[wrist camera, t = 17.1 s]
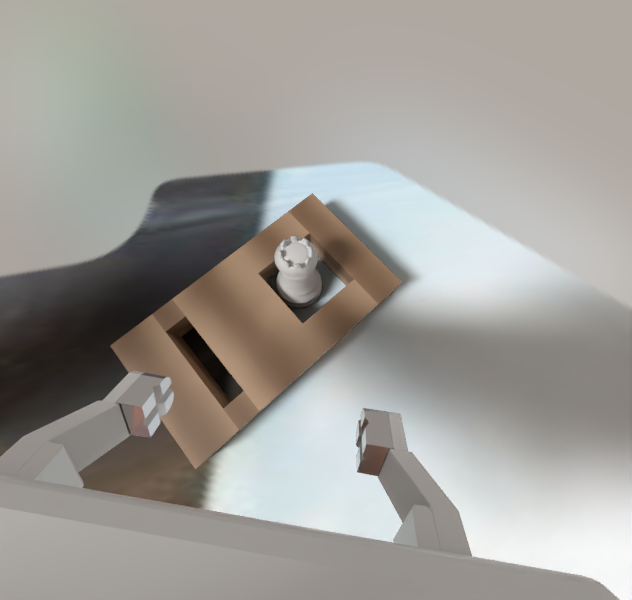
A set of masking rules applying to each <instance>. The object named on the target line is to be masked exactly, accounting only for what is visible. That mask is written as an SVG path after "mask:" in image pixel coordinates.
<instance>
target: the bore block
mask: <svg viewBox="0 0 632 600" xmlns="http://www.w3.org/2000/svg"><path fill="white" fill-rule="evenodd" d="M295 235H297V237H300V238H303V237H305V238H306V239H307V240H309V241H310V242H311V243H312V244H313V245H314V246H315V248H316V249H317V253H318V257H319V258H320V259H321V260H322V261H323V262H324V263H325V264H326V265H327V266H328V267H329V268H330V269H331V270H332V271H333V272H334V273H335V274H336V276H337V277H338V278H339V279H340V280H341V281H342V282H343V283H344V284H345V285H346V287H345V288H343V289H342V290H341V291H340V292H339V293H338V294H336V295H335V296H334V297H333V298H332V299H331V300H330V301H328V302H327V303H326V304H325V305H324V306H323V307H321V308H320V309H319V310H318V311H317V312H316V313H314V314H313V315H312V316H311V317H310V318H309V319H307V320H306V321H305V322H304V323H302V322H301V321H300V320H299V319H298V318H297V317H296V315H295V314H294V313H293V312H292V311H291V310H290V309H289V308H288V306H287V305H286V304H285V303H284V302H283V301H282V300H281V298H280V297H279V296H278V295H277V294H276V293H275V292H274V291H273V289H272V288H271V287H270V286H269V285H268V284H267V283H266V282H267V281H268V280H270V279H271V278H272V277H273V276H275V275H276V274H277V273H278V272H279V269H278V268H277V266H276V264H275V258H274V255H275V252H276V249H277V247H278V246H279V245H280V243H281V242H282V241H283V240H284V239H285V240H287V239H289V238H290V236H295ZM401 283H402V281H401V280H400V279H399V278H398V277H397V276H396V275H395V274H394V273H393V272H392V271H391V270H389V269H388V268H387V267H386V266H385V265H384V264H383V263H382V262H381V261H380V260H379V259H378V258H377V257H376V256H375V255H374V254H373V253H372V252H371V251H370V250H369V249H368V248H367V247H366V246H365V245H364V244H363V243H362V242H361V241H360V240H359V239H358V238H357V237H356V236H355V235H354V234H353V233H352V232H351V231H350V230H349V229H348V228H347V227H346V226H345V225H344V224H343V223H342V222H341V221H340V220H339V219H338V218H337V217H336V216H335V215H334V214H333V213H332V212H331V211H330V210H329V209H328V208H327V207H326V206H325V205H324V204H323V203H322V202H321V201H320V200H319V199H318V198H317V197H316V196H315V195H314V194H313V193H312V194H311V195H310V196H308V197H307V198H306V199H304V200H303V201H302V202H300V203H299V204H298V205H296V206H295V207H294V208H292V209H291V210H290V211H288V212H287V213H286V214H284V215H283V216H282V217H280V218H279V219H278V220H276V221H275V222H274V223H272V224H271V225H270V226H268V227H267V228H266V229H264V230H263V231H262V232H260V233H259V234H258V235H256V236H255V237H254V238H252V239H251V240H250V241H249V242H247V243H246V244H245V245H243V246H242V247H241V248H239V249H238V250H237V251H235V252H234V253H233V254H231V255H230V256H229V257H227V258H226V259H225V260H223V261H222V262H221V263H219V264H218V265H217V266H215V267H214V268H213V269H211V270H210V271H209V272H207V273H206V274H205V275H203V276H202V277H201V278H199V279H198V280H197V281H195V282H194V283H193V284H191V285H190V286H189V287H187V288H186V289H185V290H183V291H182V292H181V293H179V294H178V295H177V296H175V297H174V298H173V299H172V300H170V301H169V302H168V303H166V304H165V305H164V306H162V307H161V308H160V309H158V310H157V311H156V312H154V313H153V314H152V315H150V316H149V317H148V318H146V319H145V320H144V321H142V322H141V323H140V324H138V325H137V326H136V327H134V328H133V329H132V330H130V331H129V332H128V333H126V334H125V335H124V336H122V337H121V338H120V339H118V340H117V341H116V342H114V343H113V344H112V345H110V346H111V348H112V349H113V351H114V352H115V354H116V355H117V356H118V358H119V359H120V361H121V362H122V364H123V365H124V367H125V368H126V369H127V371H128V372H129V373H130V372H132V371H138V372H144V373H150V374H155V375H160V376H166V377H170V379H171V385H170V386H169V387H170V388H171V389H172V390H173V393H174V398H173V403H172V405H171V408H170V409H169V411H168V412H167V414H165V415H163V416H162V417H160V419H161V420H162V421H163V423H164V424H165V426H166V427H167V429H168V430H169V432H170V433H171V434H172V436H173V437H174V439H175V440H176V442H177V443H178V445H179V446H180V447H181V449H182V450H183V452H184V453H185V455H186V456H187V458H188V459H189V460H190V462H191V463H192V465H193V466H194V468H195V469H196V468H197V467H199V466H200V465H201V464H202V463H204V462H205V461H206V460H207V459H209V458H210V457H211V456H212V455H213V454H214V453H216V452H217V451H218V450H219V449H220V448H221V447H222V446H223V445H224V444H225V443H227V442H228V441H229V440H230V439H231V438H232V437H233V436H234V435H235V434H237V433H238V432H239V431H240V430H241V429H242V428H243V427H244V426H245V425H246V424H248V423H249V422H250V421H251V420H252V419H253V418H254V417H255V416H256V415H258V414H259V413H260V412H261V411H262V410H263V409H264V408H265V407H266V406H268V405H269V404H270V403H271V402H272V401H273V400H274V399H275V398H276V397H277V396H279V395H280V394H281V393H282V392H283V391H284V390H285V389H286V388H287V387H289V386H290V385H291V384H292V383H293V382H294V381H295V380H296V379H297V378H298V377H300V376H301V375H302V374H303V373H304V372H305V371H306V370H307V369H308V368H310V367H311V366H312V365H313V364H314V363H315V362H316V361H317V360H318V359H320V358H321V357H322V356H323V355H324V354H325V353H326V352H327V351H328V350H329V349H331V348H332V347H333V346H334V345H335V344H336V343H337V342H338V341H339V340H341V339H342V338H343V337H344V336H345V335H346V334H347V333H348V332H349V331H350V330H352V329H353V328H354V327H355V326H356V325H357V324H358V323H359V322H360V321H362V320H363V319H364V318H365V317H366V316H367V315H368V314H369V313H370V312H372V311H373V310H374V309H375V308H376V307H377V306H378V305H379V304H380V303H381V302H383V301H384V300H385V299H386V298H387V297H388V296H389V295H390V294H391V293H393V292H394V290H395V289H396V288H397V287H398V286H399V285H400V284H401ZM193 327H194V328H195V329H196V330H197V332H198V333H199V334H200V335H201V337H202V338H203V339H204V341H205V342H206V343H207V344H208V346H209V347H210V348H211V350H212V351H213V352H214V353H215V355H216V356H217V357H218V359H219V360H220V361H221V362H222V364H223V365H224V366H225V368H226V369H227V370H228V371H229V373H230V374H231V375H232V376H233V378H234V379H235V380H236V382H237V383H238V384H239V385H240V387H241V388H242V389H243V392H242V393H241V394H239V395H238V396H237V397H236V398H235V399H234V400H233V401H230V400H229V398H228V397H227V396H226V394H225V393H224V392H223V390H222V389H221V388H220V387H219V385H218V384H217V383H216V381H215V380H214V379H213V377H212V376H211V375H210V373H209V372H208V371H207V369H206V368H205V367H204V366H203V364H202V363H201V362H200V360H199V359H198V358H197V356H196V355H195V354H194V352H193V351H192V350H191V348H190V347H189V346H188V345H187V343H186V342H185V341H184V339H183V338H182V336H183V335H185V334H186V333H187V332H188V331H190V330H191V329H192V328H193Z"/></svg>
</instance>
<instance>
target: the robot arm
mask: <svg viewBox="0 0 632 600" xmlns="http://www.w3.org/2000/svg"><path fill="white" fill-rule="evenodd" d="M170 385H171V379H170V377H166V376H160V375H155V374H150V373H144V372H138V371H132V372H130V373H128V374H127V376H126V377H125V378H124V379H123V380H122V381H121V382H120V383H119V384H118V385H117V386H116V387H115V388H114V389H113V390H112V391H111V392H110V393H109V394H108V395H107V396H106V397H105V398H104V400H103V401H96V402H94V403H92V404H90V405H88V406H86V407H84V408H82V409H80V410H78V411H75V412H73V413H71V414H69V415H67V416H65V417H63V418H61V419H59V420H57V421H54V422H52V423H50V424H48V425H46V426H44V427H42V428H40V429H38V430H36V431H33V432H31V433H29V434H27V435H25V436H23V437H22V438H21V439H20V440H19V441H18V442H16V443H15V444H14V445H13V446H12V447H11V448H10V449H9V450H8V451H6V452H5V453H4V454H3V455H2V456H1V457H0V600H619V599H618V598H617V597H616V596H615V595H614V594H613V593H612V592H611V591H610V590H608V589H607V588H606V587H605V586H604V585H603V584H601V583H600V582H598V581H596V580H594V579H592V578H588V577H585V576H581V575H576V574H570V573H564V572H558V571H552V570H547V569H541V568H535V567H530V566H524V565H518V564H513V563H507V562H501V561H495V560H490V559H484V558H478V557H473V556H472V555H471V551H470V548H469V545H468V541H467V538H466V535H465V531H464V528H463V525H462V521H461V518H460V514H459V511H458V510H457V509H456V507H455V506H454V505H453V503H452V502H451V501H450V500H449V498H448V497H447V496H446V495H445V493H444V492H443V491H442V490H441V488H440V487H439V486H438V485H437V483H436V482H435V481H434V480H433V478H432V477H431V476H430V475H429V473H428V472H427V471H426V469H425V468H424V467H423V466H422V464H421V463H420V462H419V461H418V459H417V458H416V457H415V456H414V454H413V453H412V452H408V448H407V443H406V438H405V433H404V428H403V423H402V418H401V415H400V414H398V413H392V412H386V411H380V410H373V409H367V408H363V409H362V411H361V420H359V421H358V425H357V431H356V445H357V447H358V448H359V449H358V452H357V455H356V459H357V472H359V473H364V474H369V475H374V476H379V477H378V478H379V480H380V482H381V484H382V485H383V487H384V489H385V491H386V493H387V495H388V496H389V498H390V500H391V502H392V504H393V506H394V507H395V509H396V511H397V513H398V515H399V517H400V518H401V520H402V522H403V524H402V526H401V527H400V529H399V531H398V533H397V534H396V536H395V538H394V539H393V541H394V543H392V542H387V541H381V540H375V539H369V538H364V537H358V536H352V535H347V534H341V533H335V532H330V531H324V530H318V529H313V528H307V527H301V526H296V525H290V524H284V523H278V522H273V521H267V520H261V519H256V518H250V517H244V516H239V515H233V514H227V513H222V512H216V511H210V510H204V509H199V508H193V507H187V506H182V505H176V504H170V503H165V502H159V501H153V500H147V499H142V498H136V497H130V496H124V495H119V494H113V493H107V492H102V491H96V490H90V489H84V488H82V487H83V480H82V479H81V477H80V475H79V473H78V472H79V471H81V470H82V469H83V468H85V467H86V466H88V465H89V464H91V463H92V462H93V461H95V460H96V459H98V458H99V457H100V456H102V455H103V454H105V453H106V452H108V451H109V450H110V449H112V448H113V447H115V446H116V445H117V444H119V443H120V442H122V441H123V440H124V439H126V438H127V437H129V436H130V435H137V436H144V437H151V436H152V435H153V433H154V432H155V430H156V429H157V427H158V426H159V424H160V417H162V416H163V415H165V414H167V412H168V411H169V409H170V408H171V405H172V403H173V398H174V393H173V390H172V389H171V388H170V387H169V386H170ZM129 434H130V435H129Z"/></svg>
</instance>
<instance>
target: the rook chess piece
mask: <svg viewBox="0 0 632 600" xmlns="http://www.w3.org/2000/svg"><path fill="white" fill-rule="evenodd" d="M274 258H275V264H276V266H277V268H278V269H279V273H278V276H277V279H276V287H277V293H278V295H279V297H280V298H281V300H282V301H283V302H285V303H286V304H287V305H289V306H292V307H296V308H300V307H307V306H309V305H310V304H312V303H314V302H315V301H316V300H317V298H318V297H319V296H320V294H321V290H322V281H321V275H320V274H319V272H318V271H317V269H316V268H315V267H316V265H317V261H318V253H317V249H316V248H315V246H314V245H313V244H312V243H311V242H310V241H309V240H307V239H306V238H305V237H303V238H300V237H297V235H295V236H290V238H289V239H287V240H285V239H284V240H283V241H282V242H281V243H280V245H279V246H278V247H277V249H276V252H275V255H274Z"/></svg>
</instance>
